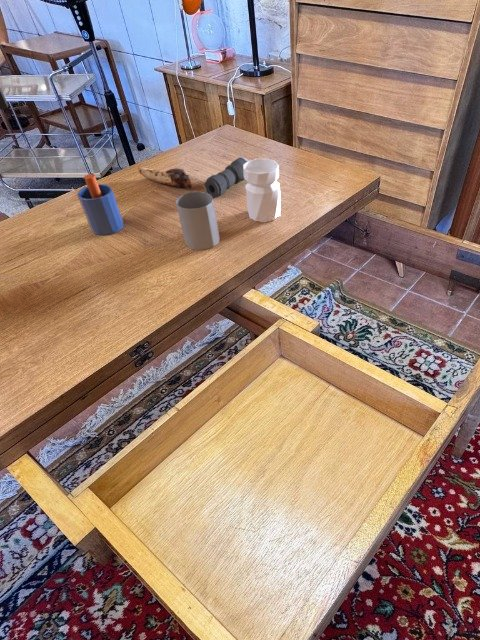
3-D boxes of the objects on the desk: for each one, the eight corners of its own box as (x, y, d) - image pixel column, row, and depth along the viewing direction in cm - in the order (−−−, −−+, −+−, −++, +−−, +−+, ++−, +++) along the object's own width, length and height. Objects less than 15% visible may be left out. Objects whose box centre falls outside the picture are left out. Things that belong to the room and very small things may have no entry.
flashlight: (220, 201, 120) (216, 180, 116) (204, 196, 122) (201, 176, 118) (252, 178, 128) (250, 159, 124) (237, 174, 130) (235, 155, 126)
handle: (101, 227, 111) (82, 178, 102) (103, 222, 113) (85, 173, 103) (111, 227, 111) (93, 178, 102) (113, 221, 113) (96, 173, 104)
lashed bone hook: (204, 181, 129) (155, 169, 134) (202, 164, 125) (151, 152, 130) (185, 194, 123) (134, 180, 128) (182, 177, 120) (130, 163, 125)
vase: (279, 222, 112) (277, 174, 103) (246, 222, 113) (240, 173, 103) (282, 205, 118) (280, 158, 109) (250, 205, 118) (245, 158, 109)
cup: (182, 235, 109) (172, 195, 101) (214, 228, 111) (207, 188, 103) (189, 253, 104) (180, 212, 96) (223, 245, 106) (216, 204, 98)
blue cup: (88, 235, 110) (73, 200, 103) (96, 219, 115) (82, 184, 108) (120, 234, 110) (107, 199, 103) (127, 218, 115) (115, 183, 108)
